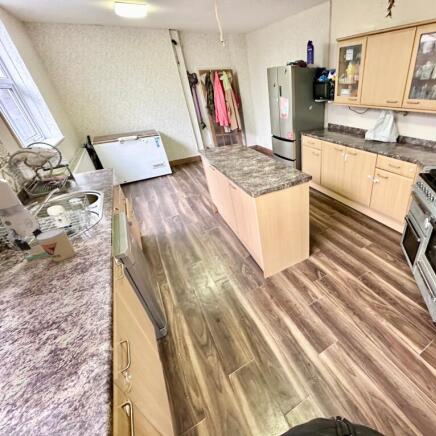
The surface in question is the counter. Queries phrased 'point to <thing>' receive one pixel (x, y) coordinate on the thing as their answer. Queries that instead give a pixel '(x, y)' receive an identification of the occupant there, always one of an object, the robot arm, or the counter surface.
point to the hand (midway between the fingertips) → (33, 243)
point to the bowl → (36, 248)
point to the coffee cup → (56, 244)
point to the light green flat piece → (37, 256)
